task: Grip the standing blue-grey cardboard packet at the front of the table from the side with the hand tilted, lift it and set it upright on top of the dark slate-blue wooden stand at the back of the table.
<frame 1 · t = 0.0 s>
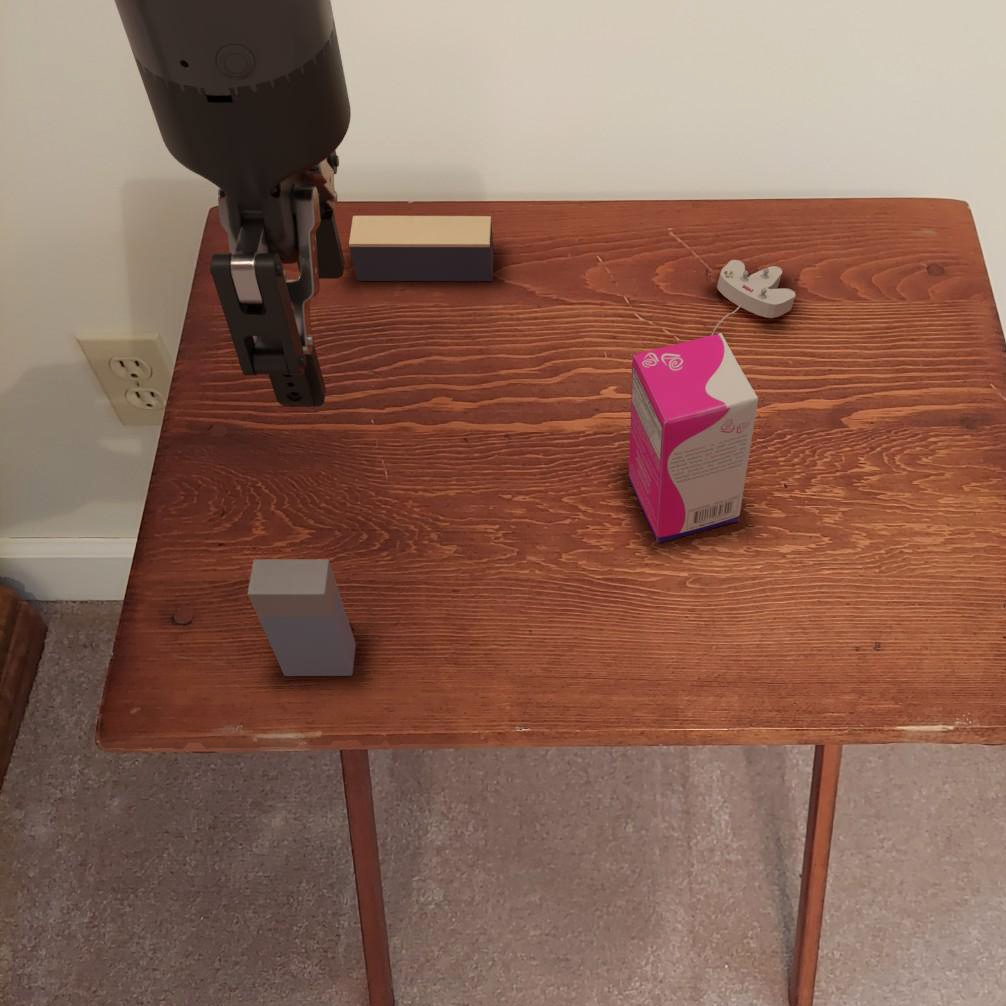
hand: (314, 335, 57), 19 cm above the table, tool pointing down, fingers open, 8 cm apart
supplement box: (681, 500, 76), on the table
game controller: (725, 323, 85), on the table
stand: (426, 267, 87), on the table
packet: (320, 660, 69), on the table
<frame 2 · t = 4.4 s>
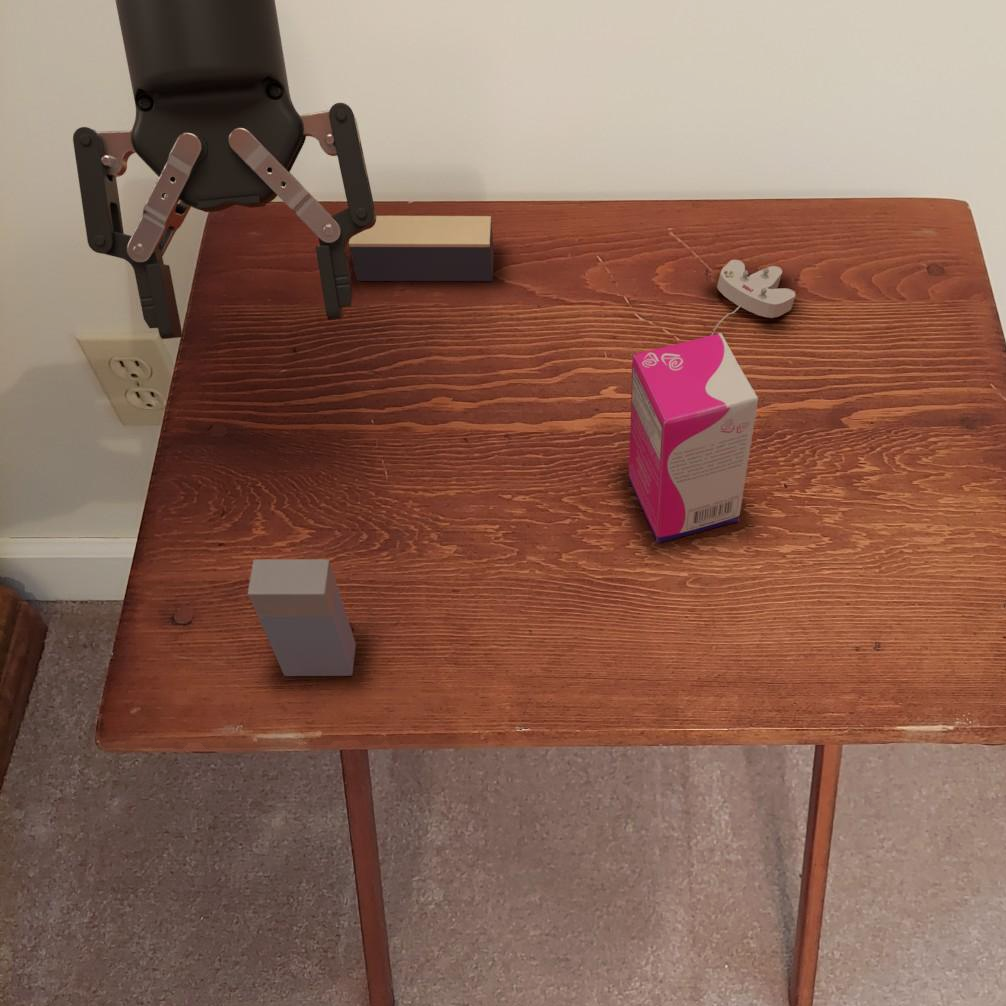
hand: (253, 328, 62), 16 cm above the table, tool tilted 45°, fingers open, 8 cm apart
nothing on the table moved.
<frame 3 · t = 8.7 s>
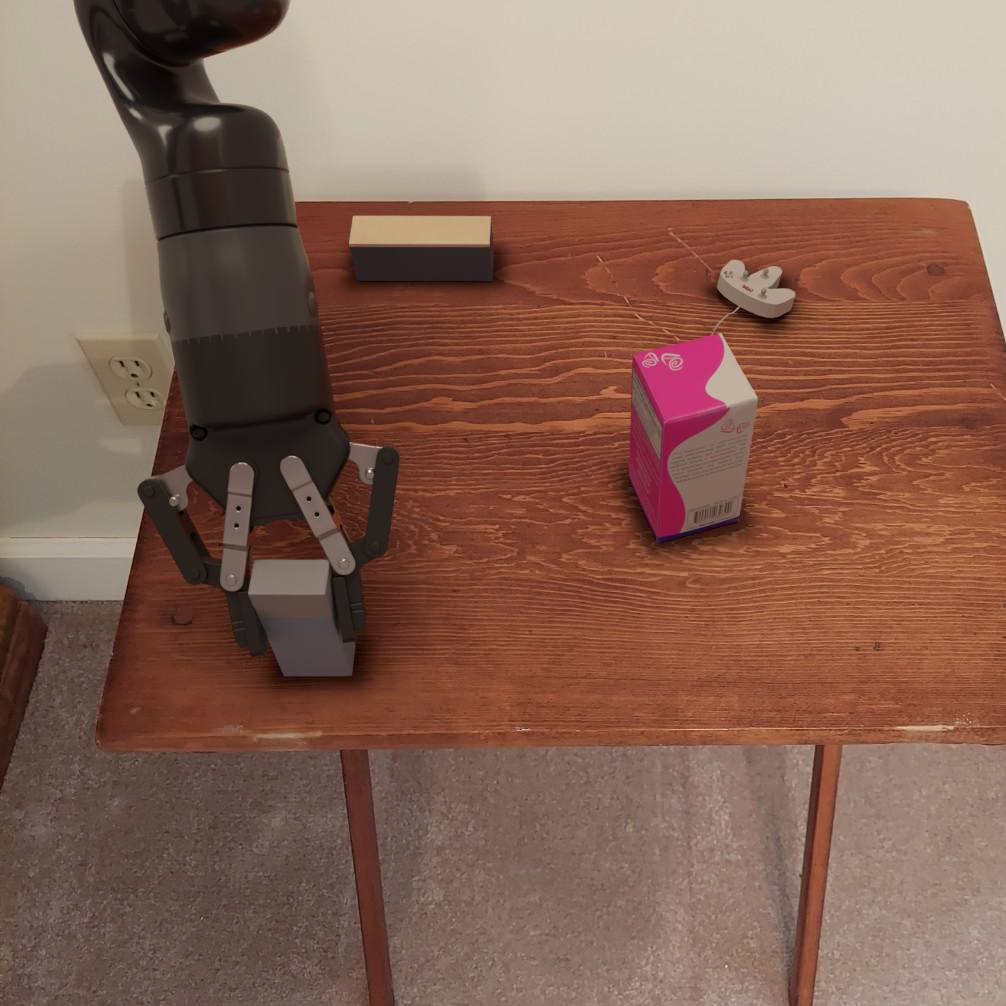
hand: (304, 644, 64), 5 cm above the table, tool tilted 45°, fingers closed on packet, 4 cm apart
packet: (320, 660, 69), on the table, touching gripper
everything else where it was.
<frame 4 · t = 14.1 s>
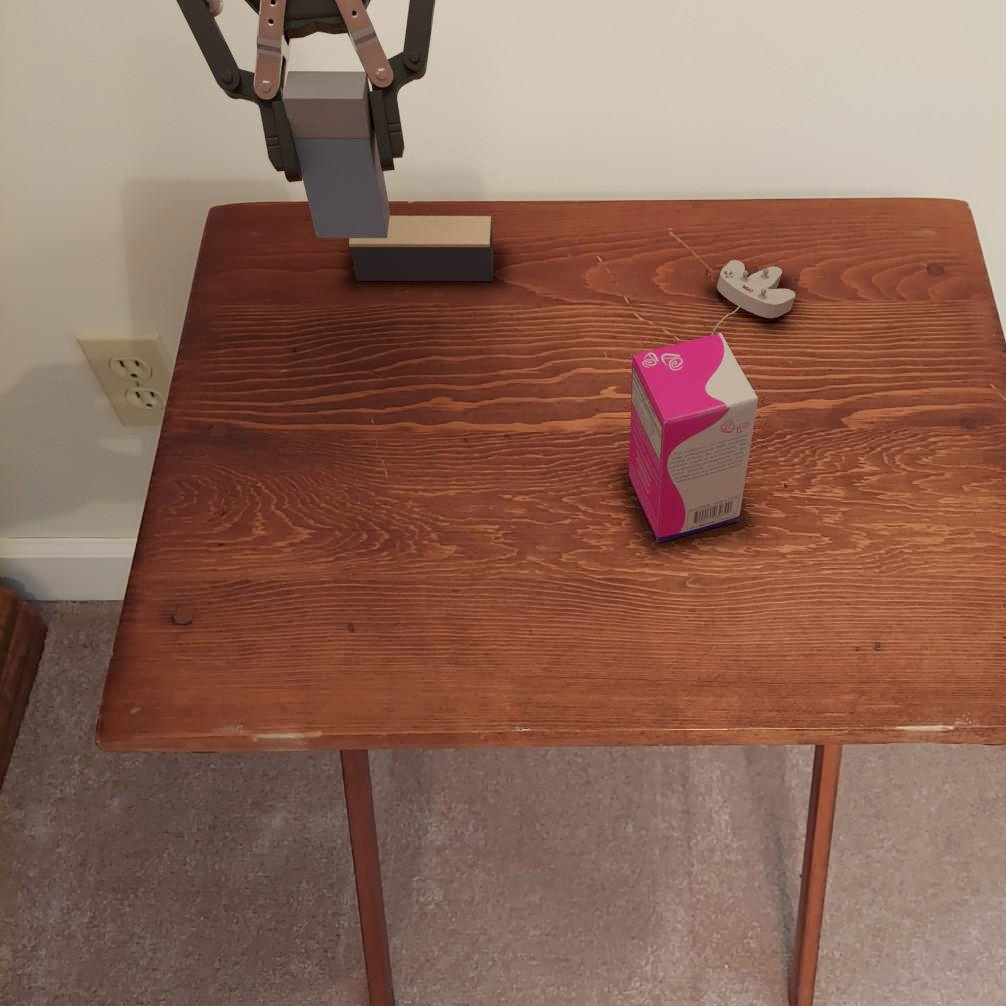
hand: (340, 172, 62), 20 cm above the table, tool tilted 45°, fingers closed on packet, 4 cm apart
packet: (353, 225, 67), point 15 cm above the table, touching gripper
everything else where it was.
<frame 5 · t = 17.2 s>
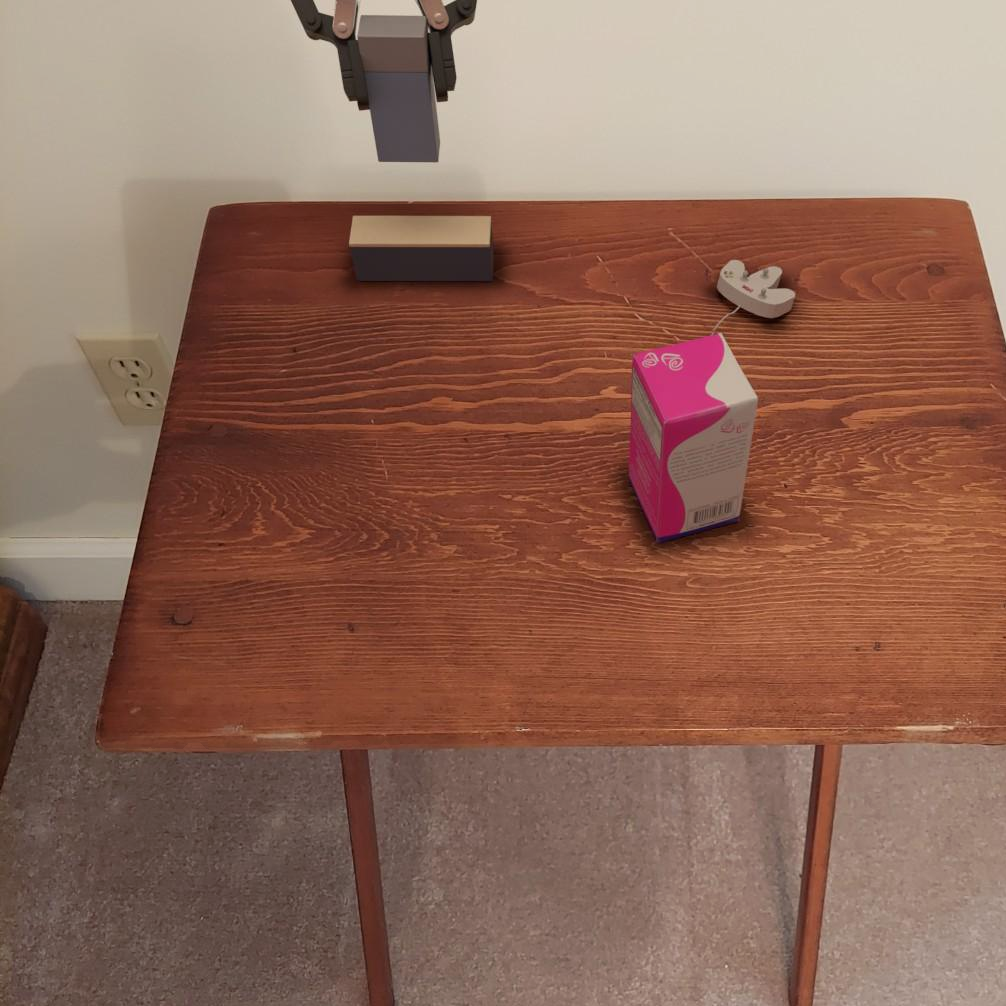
hand: (402, 102, 74), 15 cm above the table, tool tilted 45°, fingers closed on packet, 4 cm apart
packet: (409, 152, 79), point 10 cm above the table, touching gripper
everything else where it was.
when the fingers open (9 cm above the table, at t = 19.5 s): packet stays where it is, resting on stand.
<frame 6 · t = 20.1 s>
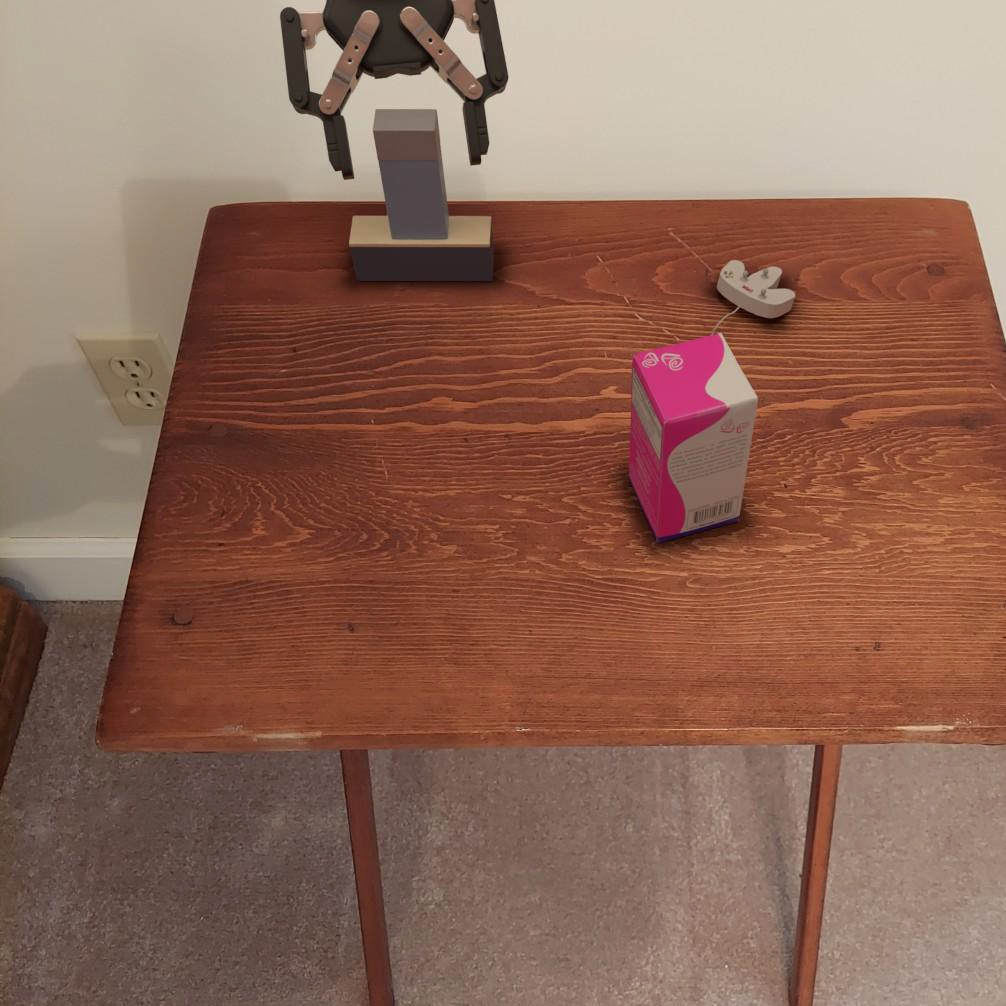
hand: (412, 170, 79), 10 cm above the table, tool tilted 45°, fingers open, 8 cm apart
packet: (420, 229, 84), point 3 cm above the table, touching stand
everything else where it was.
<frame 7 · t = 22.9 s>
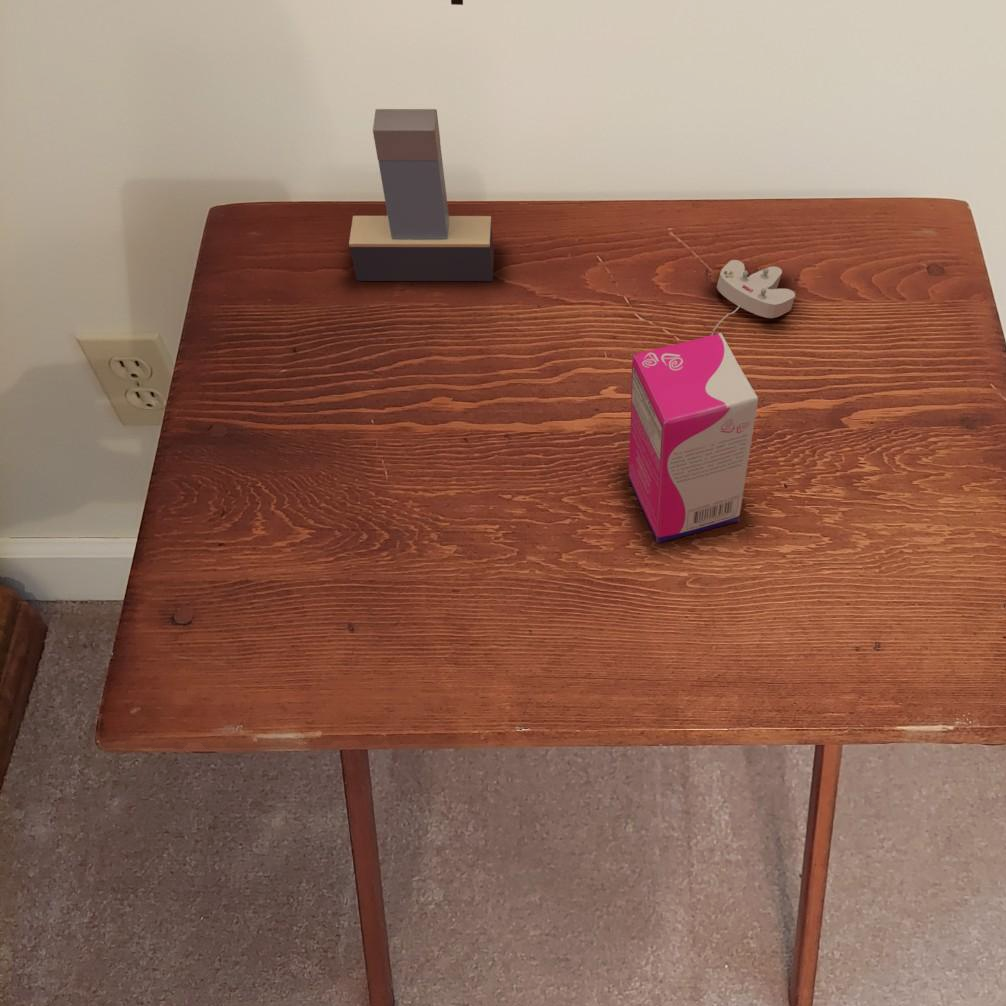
hand: (383, 1, 69), 21 cm above the table, tool tilted 25°, fingers open, 8 cm apart
nothing on the table moved.
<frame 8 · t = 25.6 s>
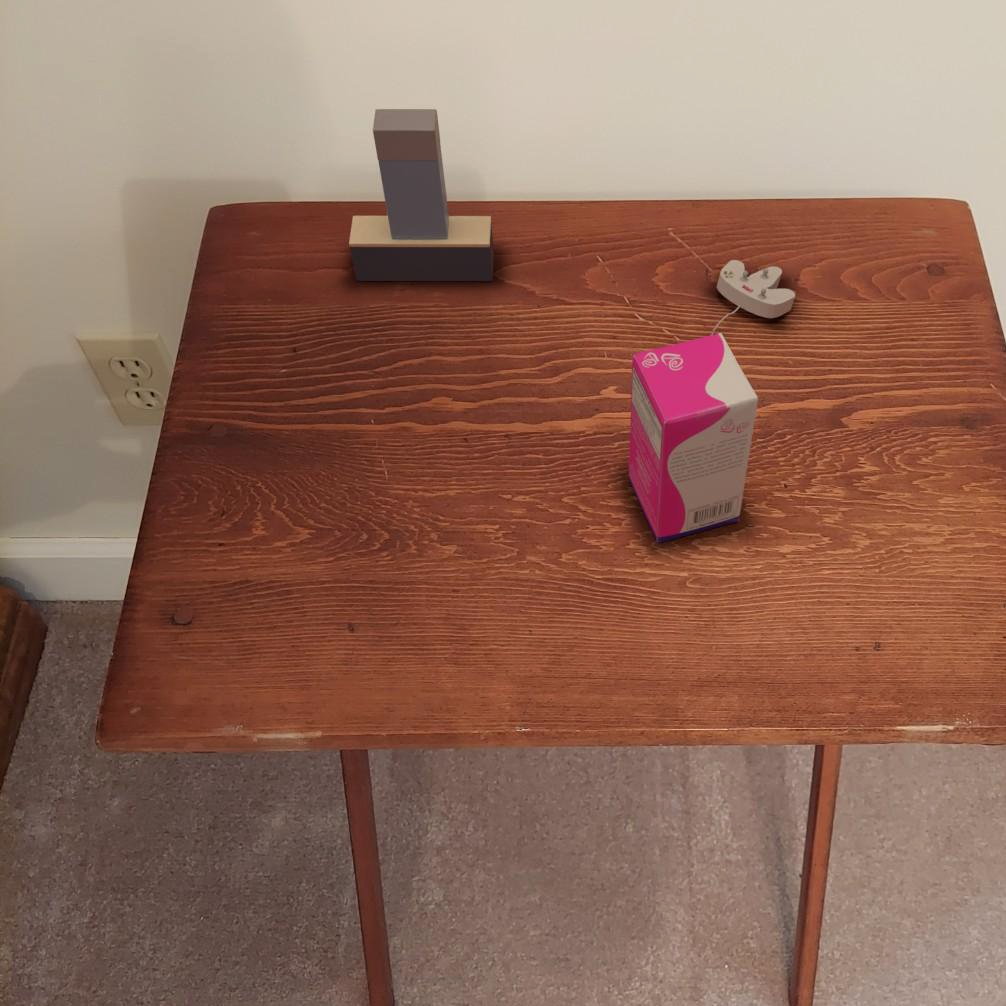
nothing on the table moved.
at the end: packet 0.0 cm off-centre on the stand, point 3.5 cm above the stand's base; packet tilted 0°; the gripper is holding nothing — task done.
